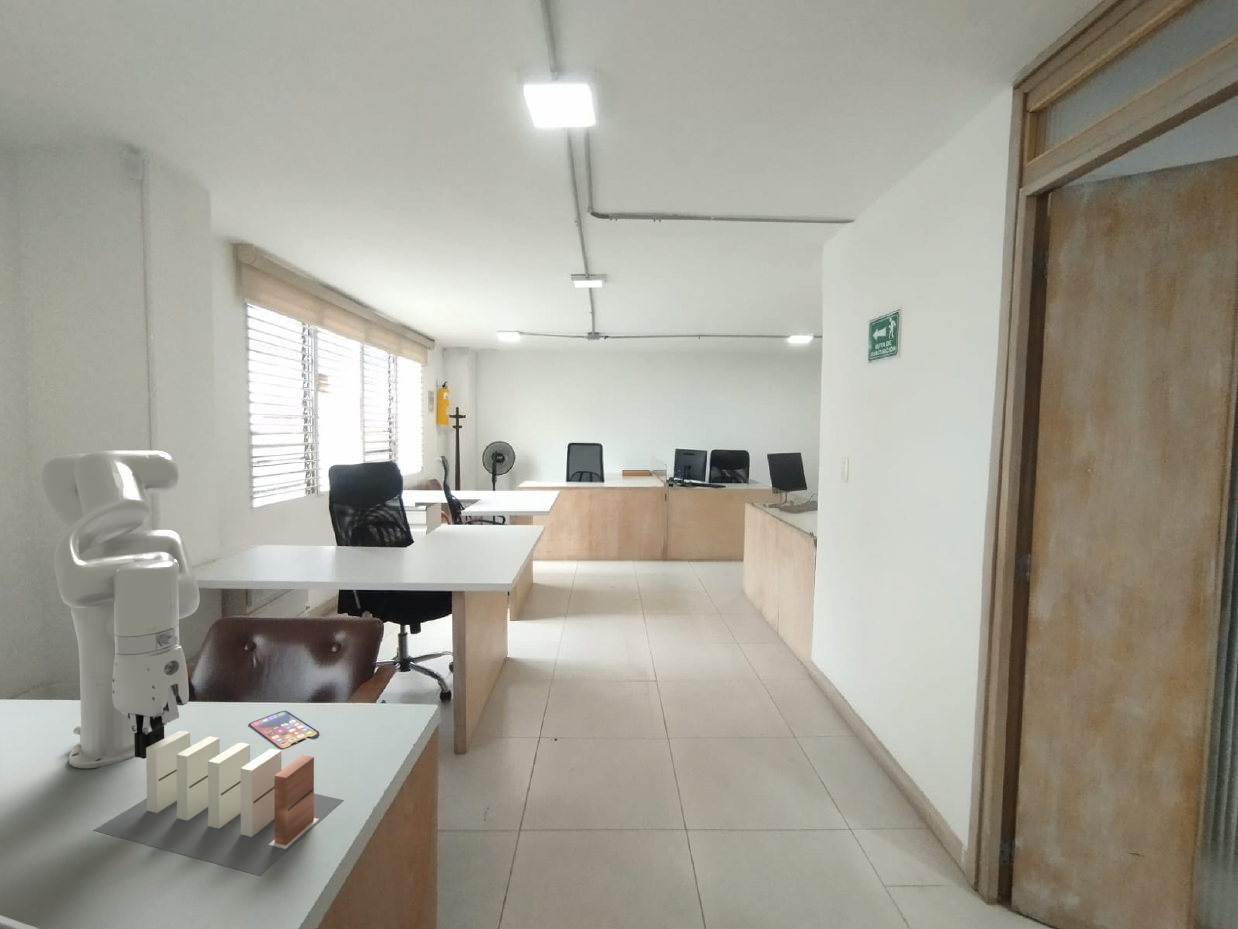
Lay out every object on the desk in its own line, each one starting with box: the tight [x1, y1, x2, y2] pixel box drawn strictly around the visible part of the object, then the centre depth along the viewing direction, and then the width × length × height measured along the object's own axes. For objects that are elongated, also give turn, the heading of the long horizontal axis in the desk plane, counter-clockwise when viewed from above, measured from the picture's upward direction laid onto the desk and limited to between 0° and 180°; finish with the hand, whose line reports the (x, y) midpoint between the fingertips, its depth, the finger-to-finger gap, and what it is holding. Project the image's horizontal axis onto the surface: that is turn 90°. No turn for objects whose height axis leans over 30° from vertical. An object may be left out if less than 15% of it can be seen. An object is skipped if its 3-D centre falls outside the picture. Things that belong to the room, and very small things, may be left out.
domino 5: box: [274, 754, 315, 845], centre depth 77 cm, size 2×5×10 cm, turn 168°
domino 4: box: [241, 748, 282, 837], centre depth 78 cm, size 2×5×10 cm, turn 167°
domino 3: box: [208, 742, 251, 829], centre depth 79 cm, size 2×5×10 cm, turn 167°
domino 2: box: [177, 735, 221, 821], centre depth 81 cm, size 2×5×10 cm, turn 167°
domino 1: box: [145, 729, 191, 813], centre depth 82 cm, size 2×5×10 cm, turn 167°
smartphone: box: [247, 710, 320, 750], centre depth 103 cm, size 1×7×15 cm
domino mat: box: [92, 793, 345, 876], centre depth 80 cm, size 30×15×1 cm, turn 77°
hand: (149, 752), depth 83 cm, fingers closed
